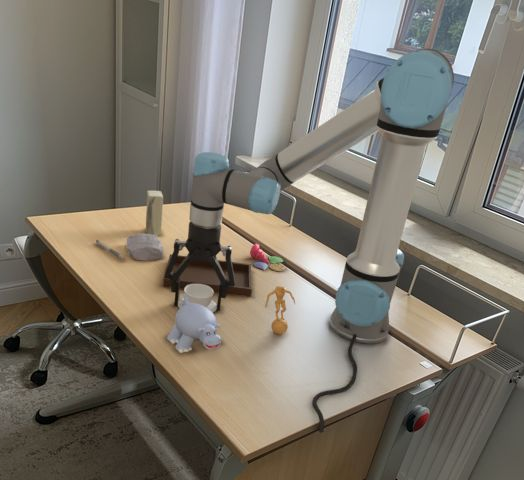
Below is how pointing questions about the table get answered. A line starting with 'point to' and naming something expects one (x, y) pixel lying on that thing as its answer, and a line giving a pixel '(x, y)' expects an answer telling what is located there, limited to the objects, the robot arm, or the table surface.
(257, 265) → the toy pieces
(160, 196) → the box
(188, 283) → the tray
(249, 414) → the table surface
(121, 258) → the pen
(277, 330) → the figurine
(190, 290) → the teacup
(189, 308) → the hippopotamus toy
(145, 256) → the stone block
